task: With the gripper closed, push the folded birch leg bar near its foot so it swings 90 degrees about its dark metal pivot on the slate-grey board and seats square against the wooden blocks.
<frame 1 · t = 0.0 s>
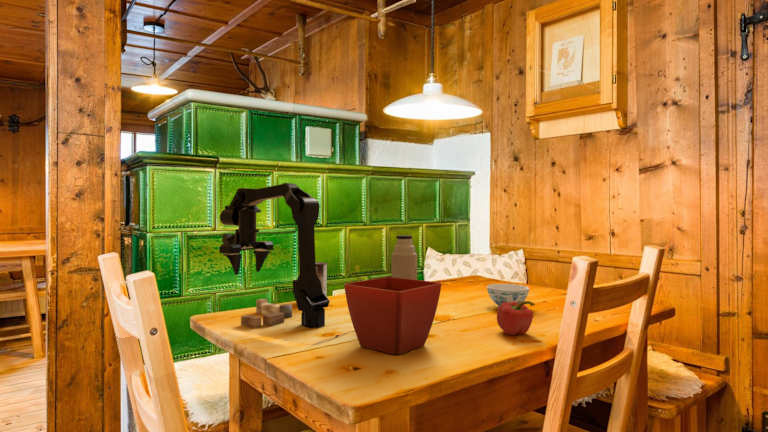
hand: (247, 273, 160), 15 cm above the table, tool pointing down, fingers open, 9 cm apart
leg: (274, 308, 159), point 3 cm above the table, hinge at 0.0°
thermos bottle: (403, 324, 152), on the table
plant pot: (392, 346, 128), on the table
vegetable: (515, 334, 141), on the table
chinaware: (507, 308, 177), on the table
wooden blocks: (265, 325, 149), on the table
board: (265, 321, 155), on the table
coffee box: (313, 306, 179), on the table
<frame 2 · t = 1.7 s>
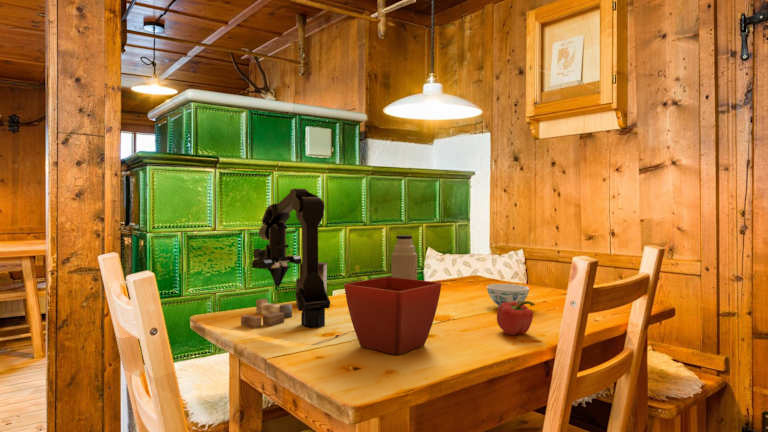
hand: (277, 286, 168), 9 cm above the table, tool pointing down, fingers closed
nothing on the table moved.
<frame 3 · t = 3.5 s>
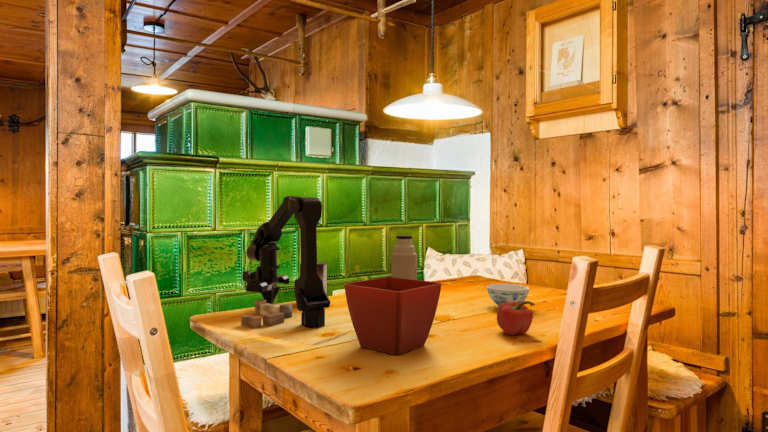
hand: (268, 308, 165), 2 cm above the table, tool pointing down, fingers closed
leg: (273, 308, 159), point 3 cm above the table, hinge at 3.0°, touching gripper
everything else where it was.
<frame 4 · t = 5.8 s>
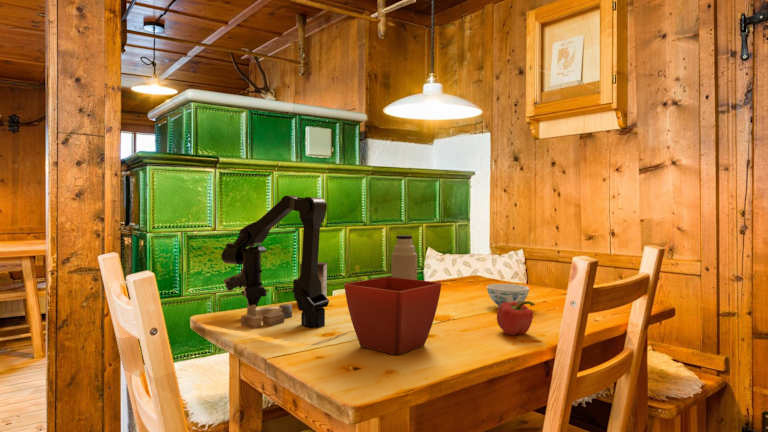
hand: (251, 313, 156), 2 cm above the table, tool pointing down, fingers closed
leg: (270, 311, 155), point 3 cm above the table, hinge at 53.1°, touching gripper
everything else where it was.
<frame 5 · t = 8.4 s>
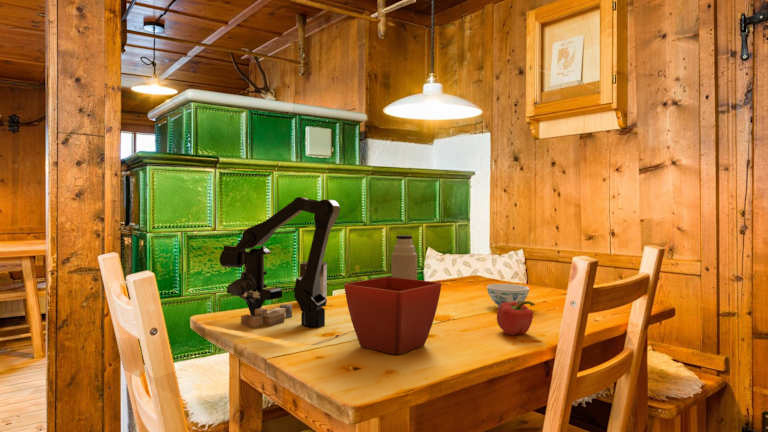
hand: (254, 318, 150), 2 cm above the table, tool pointing down, fingers closed
leg: (274, 312, 152), point 3 cm above the table, hinge at 90.1°, touching gripper
everything else where it was.
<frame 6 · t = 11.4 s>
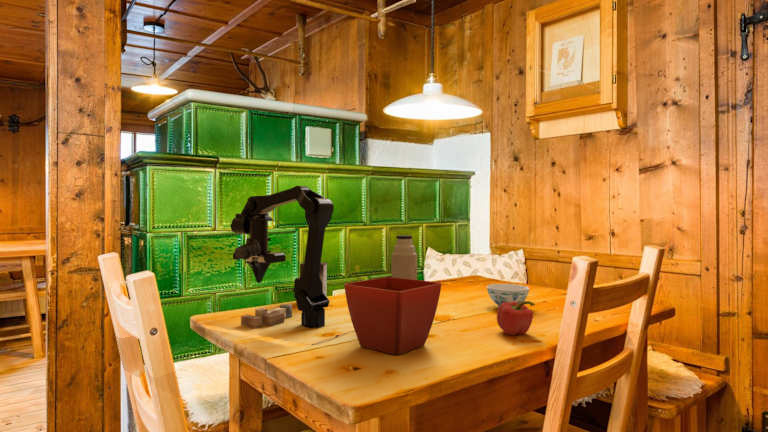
hand: (258, 282, 157), 12 cm above the table, tool pointing down, fingers closed
leg: (274, 312, 152), point 3 cm above the table, hinge at 90.9°
everything else where it was.
at the end: leg at +91° (first picture: +0°) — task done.
